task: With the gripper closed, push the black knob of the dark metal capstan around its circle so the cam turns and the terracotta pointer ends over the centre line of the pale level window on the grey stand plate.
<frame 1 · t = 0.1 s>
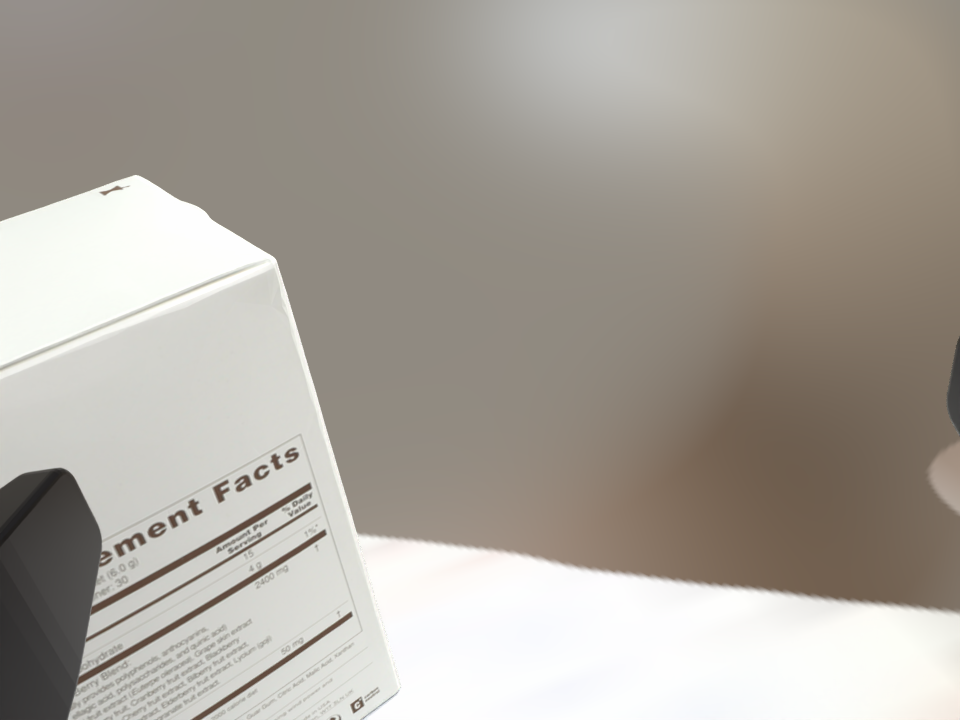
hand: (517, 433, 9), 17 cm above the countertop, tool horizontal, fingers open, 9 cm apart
supplement box: (219, 692, 27), on the countertop
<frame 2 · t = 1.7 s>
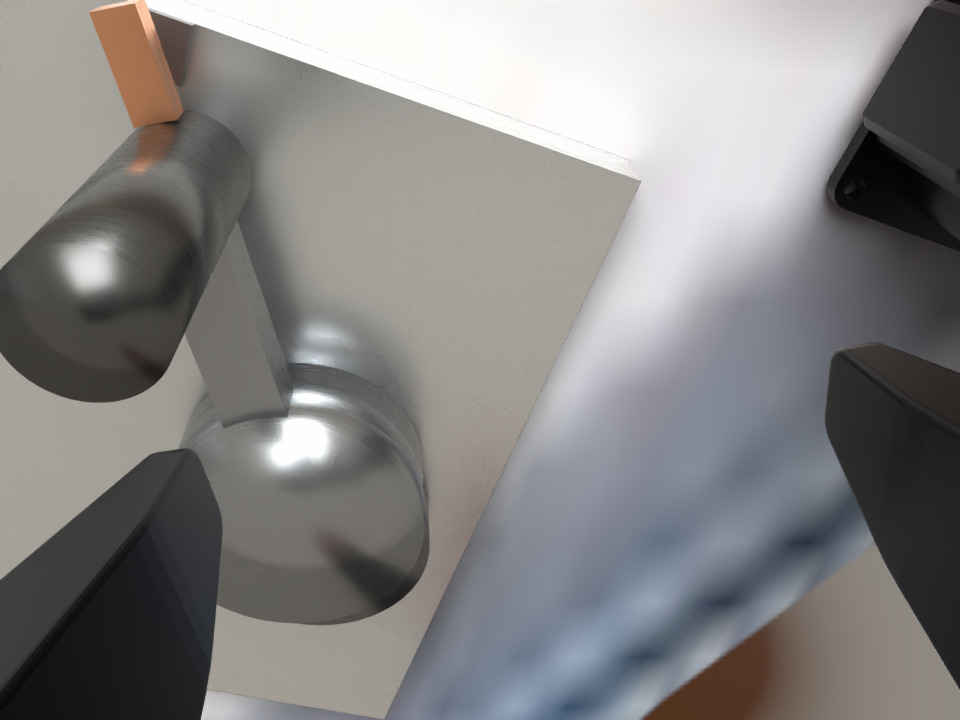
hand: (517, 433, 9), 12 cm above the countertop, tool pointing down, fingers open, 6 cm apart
capstan: (239, 445, 17), point 5 cm above the countertop, hinge at -60.0°
level stand: (310, 424, 23), on the countertop
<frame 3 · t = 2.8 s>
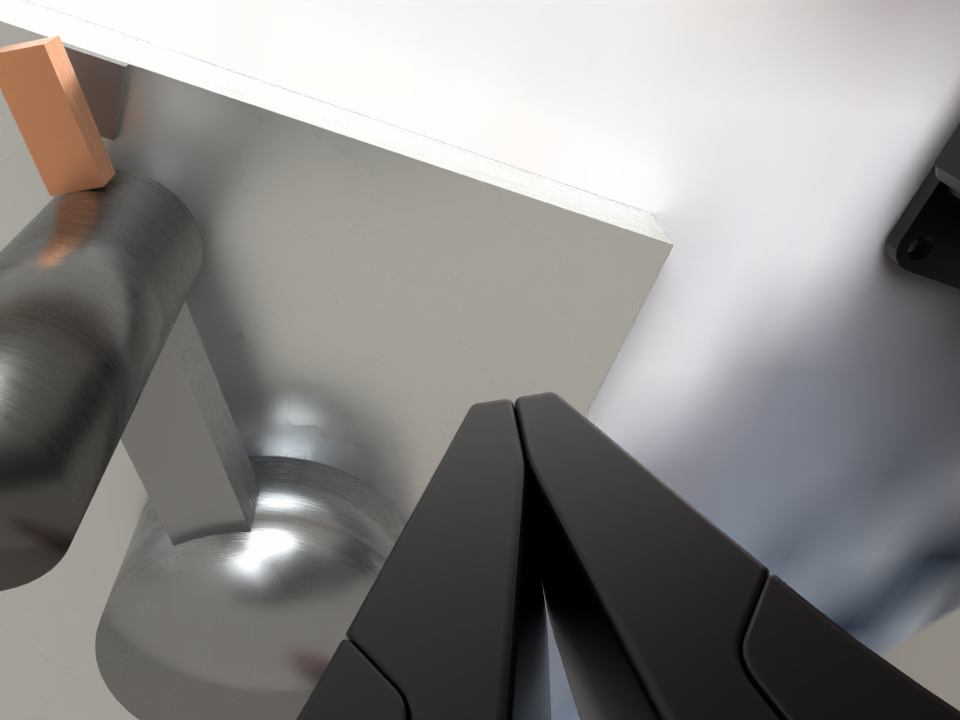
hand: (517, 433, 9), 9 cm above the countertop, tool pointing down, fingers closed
capstan: (189, 578, 14), point 5 cm above the countertop, hinge at -60.0°
level stand: (284, 512, 20), on the countertop
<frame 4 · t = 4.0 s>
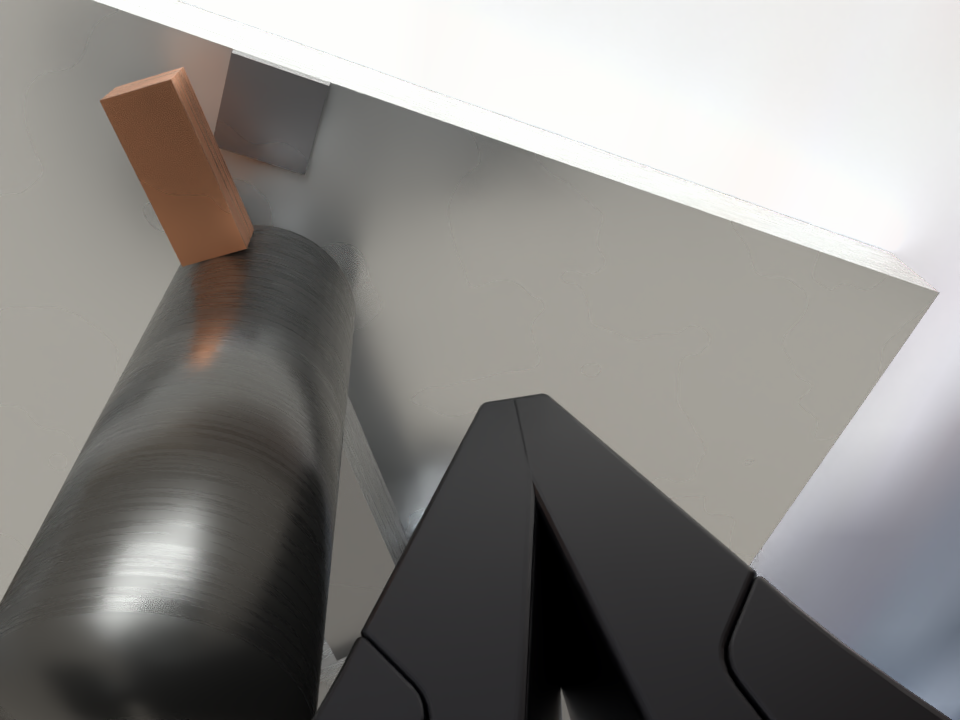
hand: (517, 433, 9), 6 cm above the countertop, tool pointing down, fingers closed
capstan: (371, 709, 11), point 5 cm above the countertop, hinge at -54.9°, touching gripper
level stand: (429, 587, 17), on the countertop
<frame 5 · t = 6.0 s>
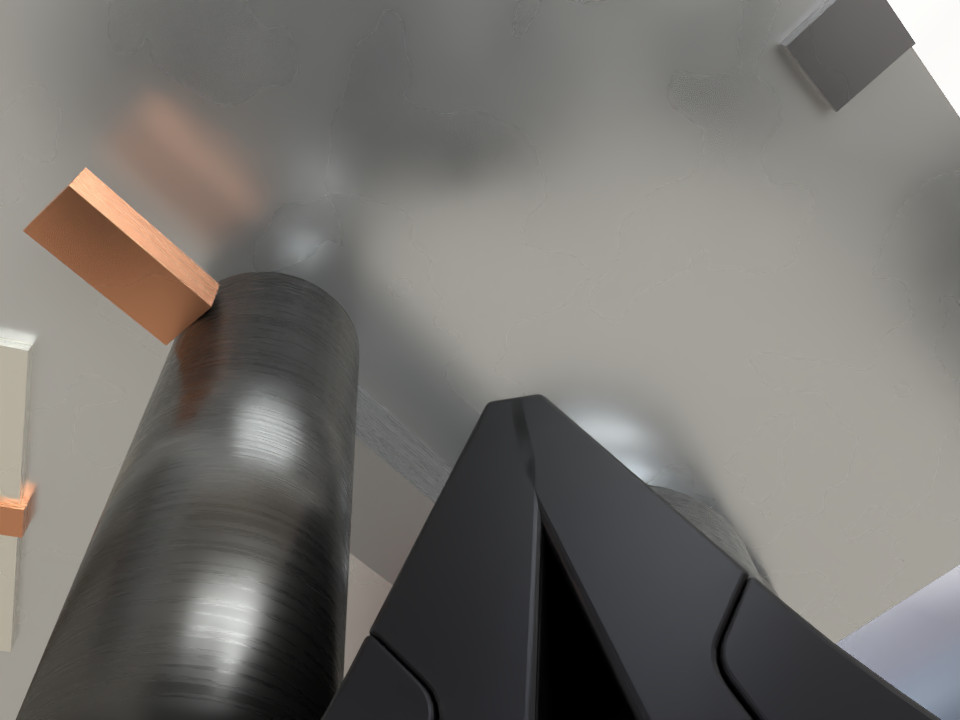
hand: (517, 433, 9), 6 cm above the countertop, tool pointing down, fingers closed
capstan: (507, 688, 11), point 5 cm above the countertop, hinge at -6.3°, touching gripper
level stand: (575, 542, 17), on the countertop
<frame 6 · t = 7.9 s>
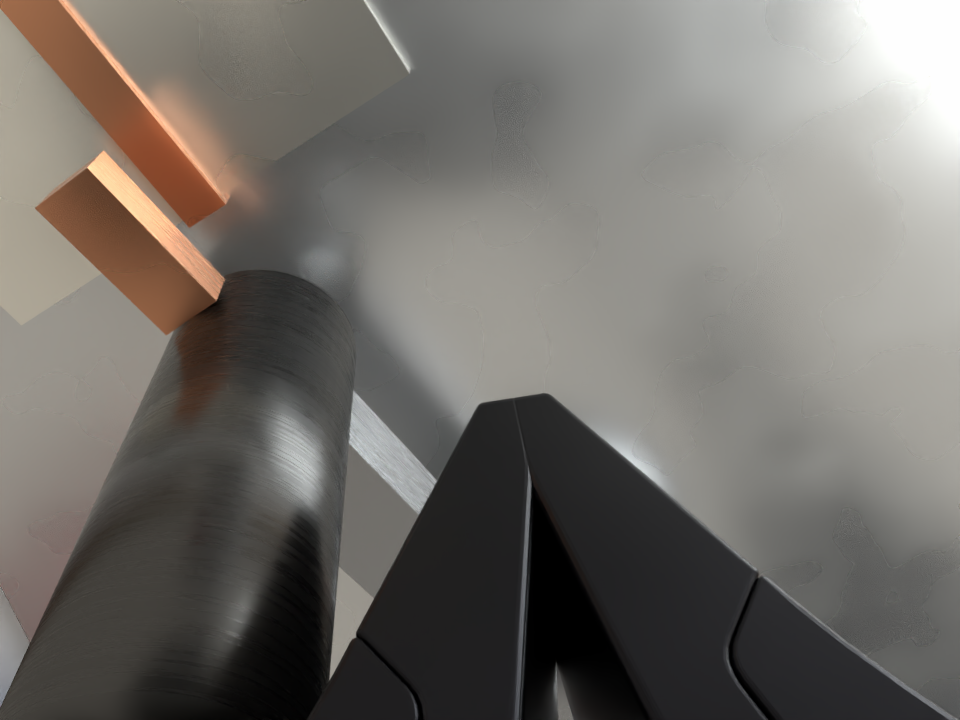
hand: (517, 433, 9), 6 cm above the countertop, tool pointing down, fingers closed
capstan: (474, 704, 11), point 5 cm above the countertop, hinge at 29.6°, touching gripper
level stand: (544, 563, 17), on the countertop
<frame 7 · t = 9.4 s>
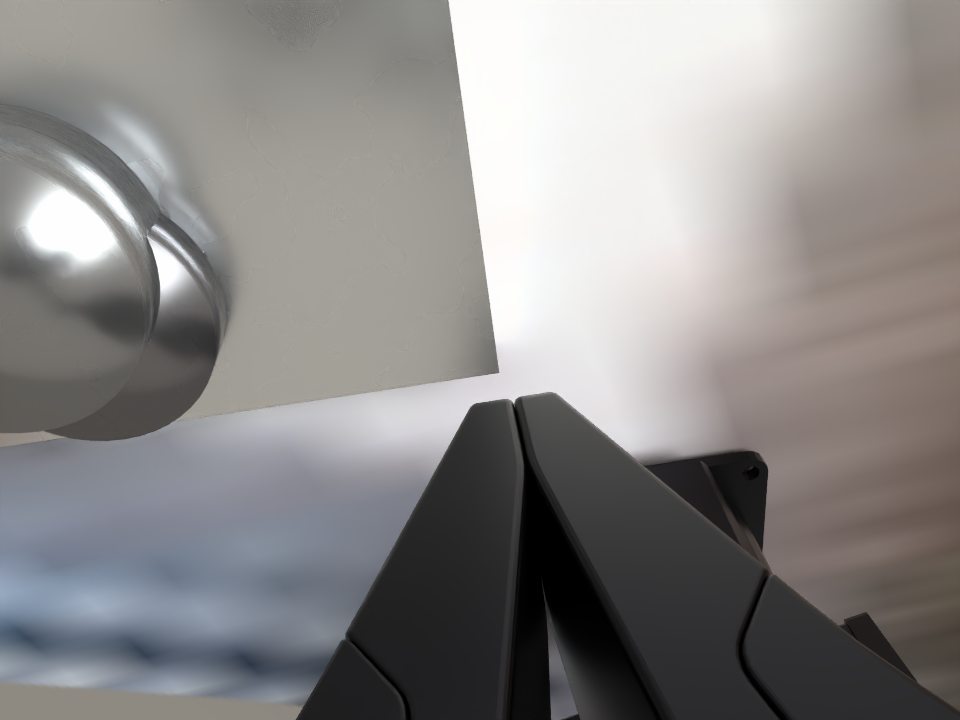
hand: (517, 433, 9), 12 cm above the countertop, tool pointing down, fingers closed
level stand: (54, 216, 19), on the countertop
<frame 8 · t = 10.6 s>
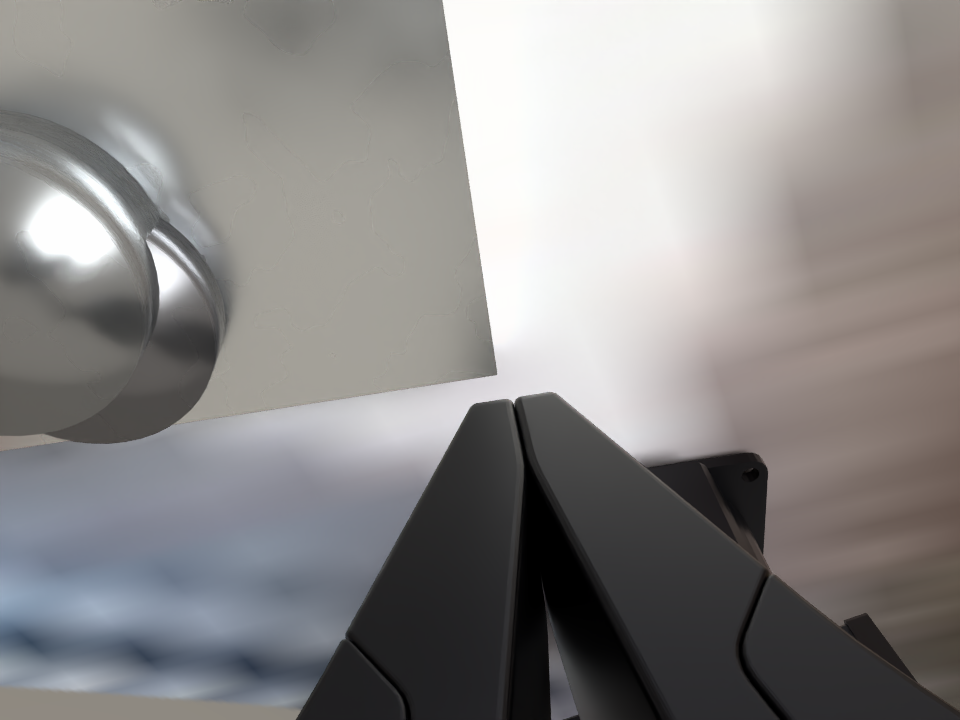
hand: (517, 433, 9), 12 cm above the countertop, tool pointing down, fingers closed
level stand: (55, 221, 19), on the countertop
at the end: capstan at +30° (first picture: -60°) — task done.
